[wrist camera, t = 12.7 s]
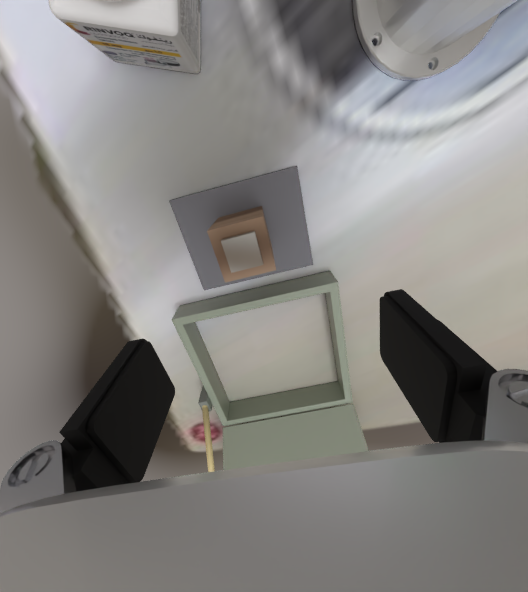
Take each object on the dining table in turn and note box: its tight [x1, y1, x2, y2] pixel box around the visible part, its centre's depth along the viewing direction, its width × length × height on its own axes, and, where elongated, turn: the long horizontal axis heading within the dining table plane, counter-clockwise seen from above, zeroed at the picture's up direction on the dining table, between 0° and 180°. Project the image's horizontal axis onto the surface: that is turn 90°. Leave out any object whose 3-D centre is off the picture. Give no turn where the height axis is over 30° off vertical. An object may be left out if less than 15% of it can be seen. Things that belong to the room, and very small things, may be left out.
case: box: [172, 271, 369, 472], centre depth 30 cm, size 29×21×20 cm
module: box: [207, 206, 276, 283], centre depth 25 cm, size 5×5×8 cm
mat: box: [169, 166, 313, 290], centre depth 29 cm, size 11×14×1 cm
